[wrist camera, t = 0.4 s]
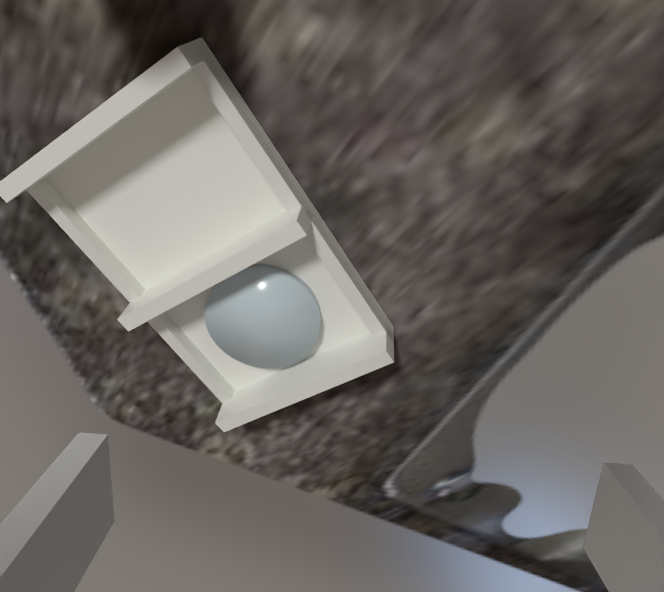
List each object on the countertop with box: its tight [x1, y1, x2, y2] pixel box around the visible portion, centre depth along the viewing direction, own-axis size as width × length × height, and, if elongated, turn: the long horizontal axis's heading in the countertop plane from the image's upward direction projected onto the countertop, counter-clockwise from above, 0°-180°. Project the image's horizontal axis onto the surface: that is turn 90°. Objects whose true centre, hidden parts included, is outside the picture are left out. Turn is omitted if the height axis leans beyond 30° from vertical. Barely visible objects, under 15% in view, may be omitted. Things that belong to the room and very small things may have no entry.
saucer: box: [204, 264, 321, 368], centre depth 42 cm, size 9×9×1 cm
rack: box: [0, 37, 394, 432], centre depth 39 cm, size 16×25×4 cm, turn 32°
